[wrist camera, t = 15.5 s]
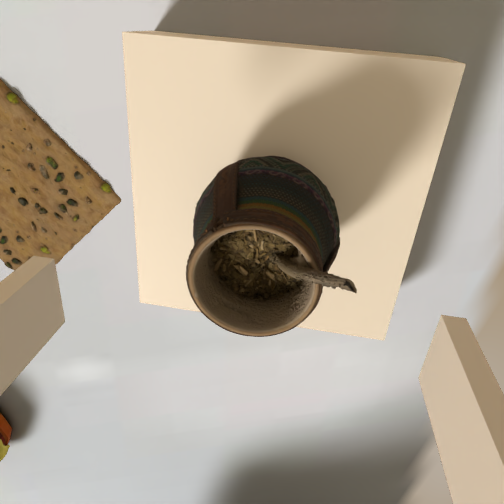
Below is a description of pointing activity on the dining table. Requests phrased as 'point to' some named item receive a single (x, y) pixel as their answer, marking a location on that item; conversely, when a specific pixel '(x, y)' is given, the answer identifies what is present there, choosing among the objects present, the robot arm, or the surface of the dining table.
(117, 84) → the dining table surface
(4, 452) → the cheeseburger
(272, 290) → the mate gourd
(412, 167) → the cream square slab
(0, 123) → the cookie
